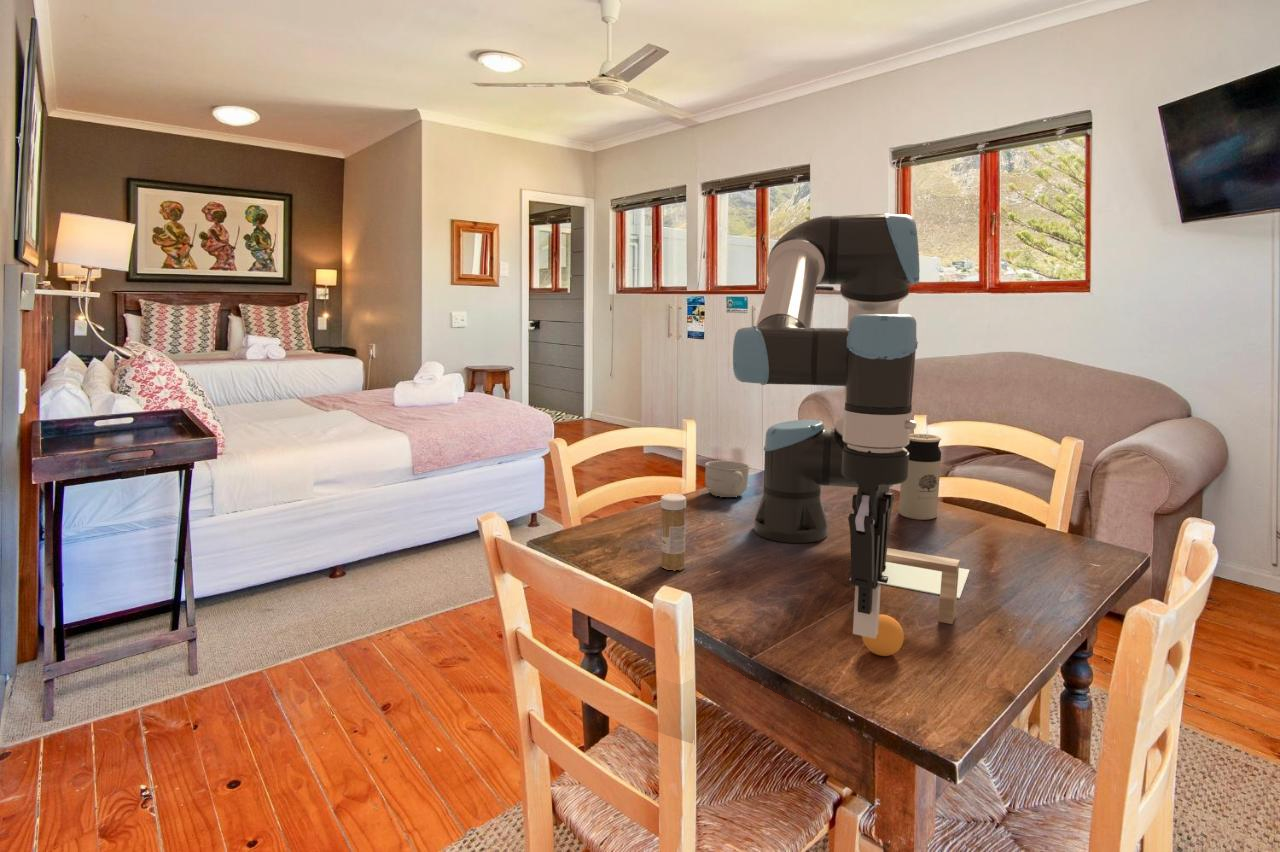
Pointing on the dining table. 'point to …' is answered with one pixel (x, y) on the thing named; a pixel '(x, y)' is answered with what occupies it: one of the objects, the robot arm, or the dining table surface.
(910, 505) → the travel mug
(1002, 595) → the dining table surface
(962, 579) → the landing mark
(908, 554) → the bridge
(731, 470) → the teacup
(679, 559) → the sprinkles bottle
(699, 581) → the dining table surface
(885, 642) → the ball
